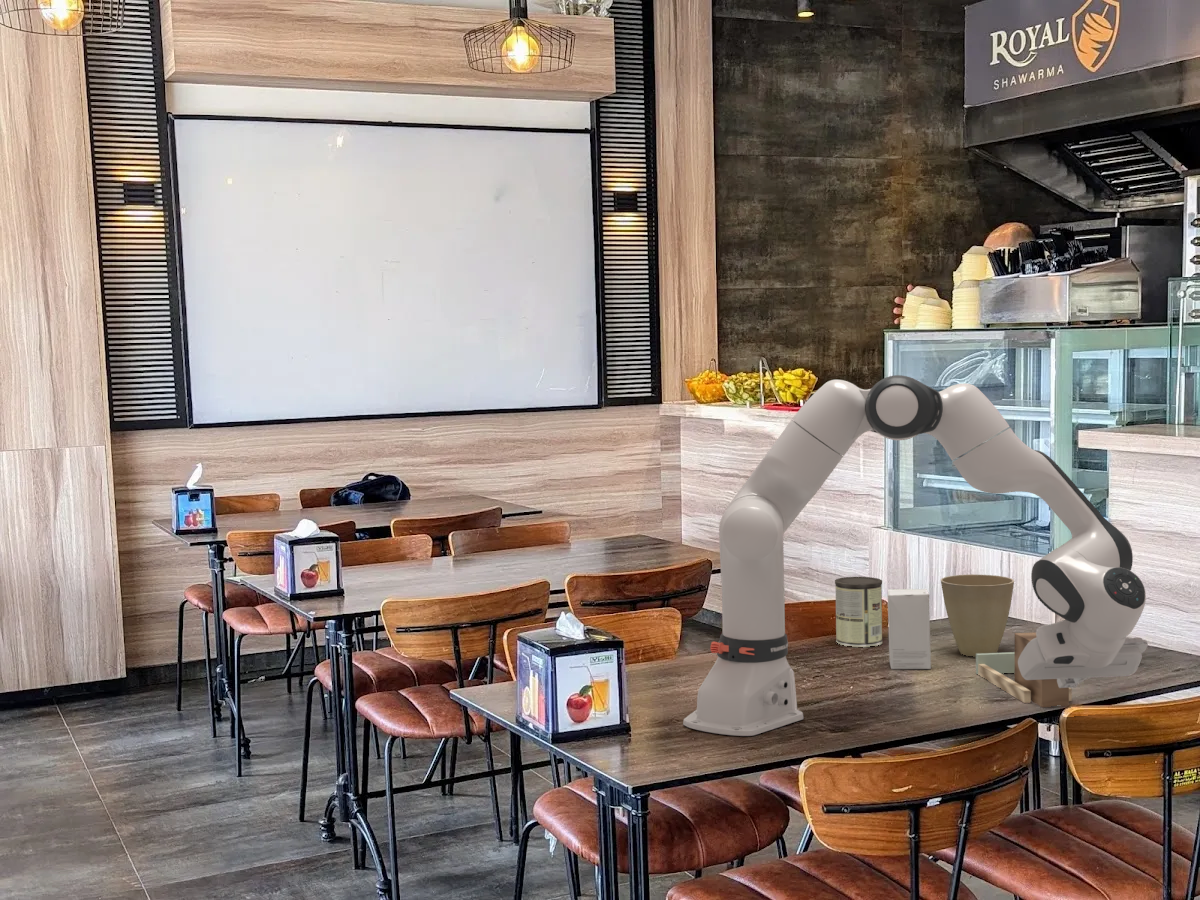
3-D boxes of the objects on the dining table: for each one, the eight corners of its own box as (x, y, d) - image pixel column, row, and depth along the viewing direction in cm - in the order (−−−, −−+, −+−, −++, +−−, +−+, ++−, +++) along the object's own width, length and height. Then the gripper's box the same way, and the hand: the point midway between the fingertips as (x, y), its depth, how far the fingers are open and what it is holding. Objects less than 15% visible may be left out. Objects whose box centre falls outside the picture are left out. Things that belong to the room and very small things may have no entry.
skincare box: (929, 663, 268) (928, 588, 267) (931, 670, 261) (931, 593, 260) (887, 662, 269) (887, 587, 268) (888, 669, 263) (888, 593, 262)
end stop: (1021, 673, 258) (1021, 653, 257) (978, 674, 257) (978, 655, 257) (1019, 671, 259) (1019, 651, 259) (975, 673, 258) (975, 653, 258)
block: (1068, 706, 233) (1068, 645, 232) (1041, 707, 232) (1041, 646, 232) (1040, 689, 245) (1040, 632, 244) (1014, 691, 244) (1014, 633, 243)
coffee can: (841, 636, 296) (841, 575, 295) (886, 640, 291) (886, 577, 290) (830, 646, 286) (829, 582, 285) (877, 649, 282) (876, 584, 281)
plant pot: (984, 644, 285) (984, 572, 284) (1029, 657, 271) (1029, 582, 270) (926, 650, 280) (926, 577, 279) (968, 664, 266) (968, 587, 265)
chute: (1071, 701, 236) (1071, 689, 236) (1024, 703, 235) (1024, 691, 235) (1021, 673, 258) (1021, 662, 258) (978, 674, 257) (978, 663, 257)
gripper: (1144, 622, 221) (1116, 666, 231) (1028, 627, 219) (1005, 671, 229) (1158, 654, 217) (1128, 697, 227) (1039, 659, 215) (1015, 702, 225)
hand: (1065, 684), depth 228 cm, fingers closed
